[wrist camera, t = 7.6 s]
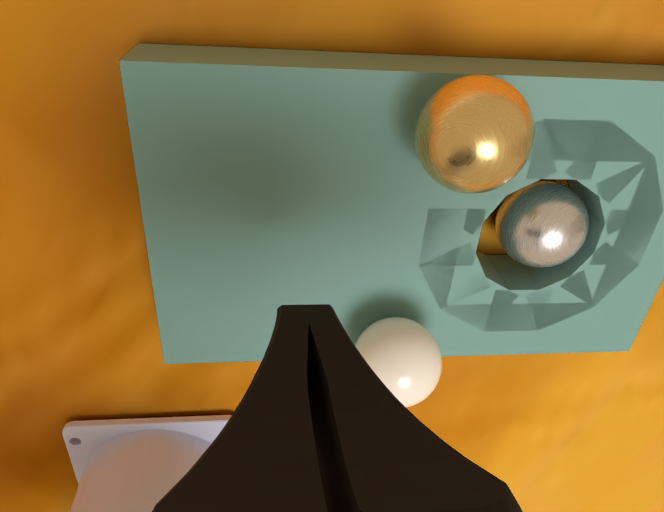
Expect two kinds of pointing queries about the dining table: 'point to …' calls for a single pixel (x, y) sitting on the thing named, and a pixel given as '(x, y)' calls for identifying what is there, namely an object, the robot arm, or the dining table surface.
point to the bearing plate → (382, 199)
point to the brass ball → (474, 134)
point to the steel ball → (542, 224)
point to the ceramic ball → (402, 357)
